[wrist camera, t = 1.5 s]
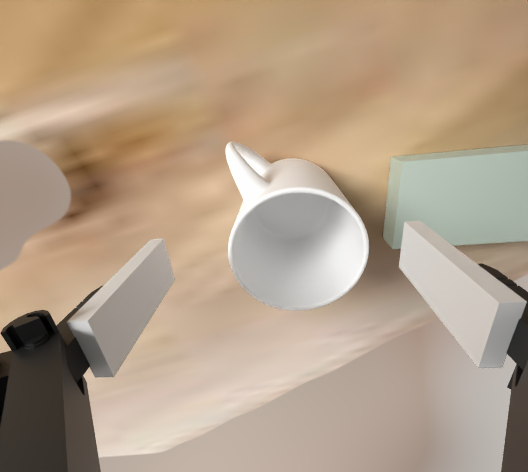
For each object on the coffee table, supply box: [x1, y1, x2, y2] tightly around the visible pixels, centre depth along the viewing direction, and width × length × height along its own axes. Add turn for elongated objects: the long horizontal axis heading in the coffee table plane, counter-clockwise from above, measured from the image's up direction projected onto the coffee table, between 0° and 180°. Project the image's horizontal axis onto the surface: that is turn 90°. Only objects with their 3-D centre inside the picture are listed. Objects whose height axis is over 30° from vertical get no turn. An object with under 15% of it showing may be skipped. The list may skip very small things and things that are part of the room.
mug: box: [226, 142, 369, 311], centre depth 21 cm, size 9×12×11 cm
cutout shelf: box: [383, 145, 528, 249], centre depth 18 cm, size 32×13×4 cm, turn 6°
